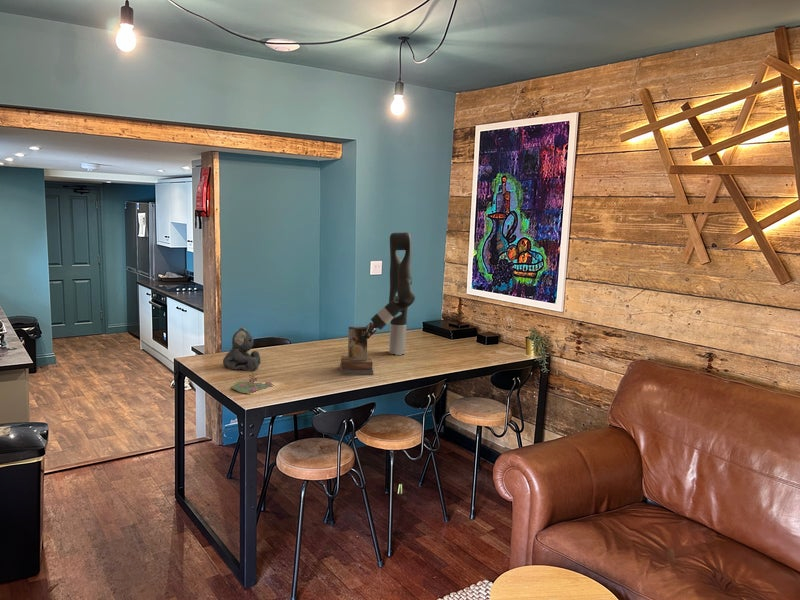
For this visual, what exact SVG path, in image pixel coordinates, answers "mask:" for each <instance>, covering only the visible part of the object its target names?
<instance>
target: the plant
mask: <svg viewBox="0 0 800 600" xmlns="http://www.w3.org/2000/svg"><path fill="white" fill-rule="evenodd" d="M250 372H251V371H250ZM248 375H249V377H250V378H249V379H248V380H249V381H239V382H236V383H235V384H232V386H230V388H231V389H232V390H233V391H236V392H239V393H241V394H244V393H254V392H256V391H259V390H262V389H266V388H268V387H273V386H274V385H273V384H272V383H271V382H272V381H265V382H266V383H265V384H262V383H254V382H255V381H258V379H257V378H258V377H256V376H257V374H255V373H254V370H252V372H251V373H248ZM272 385H273V386H272Z"/></svg>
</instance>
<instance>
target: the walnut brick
mask: <svg viewBox="0 0 800 600" xmlns="http://www.w3.org/2000/svg"><path fill="white" fill-rule="evenodd" d="M340 363H341V367H342V370H372V368H373V366H374V365H373V364H374V363H373V360H372V357H371V355H370V356H368V355H367V360H349V359H348V355H340Z"/></svg>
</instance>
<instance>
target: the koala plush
mask: <svg viewBox="0 0 800 600" xmlns="http://www.w3.org/2000/svg"><path fill="white" fill-rule="evenodd" d="M256 344H257V343H256V340H255V339H254V338H253V336H252V335H251V334H250V332H249V331H248V330H247V329H246V328H245V327H242V326H241V327H240V328H239V329H238V330H237V331H236V332H235V333H234V334H233V335H232V339H231V345H232V347H231V349H230V350H229V351H228V352H227V353H226V354H225V356H224V357H223V359H222V363H223V366H224V367H225V368H228V369H230V370H233V369H235V370H234V371H237V369H238V370H240V369H243V370H242V371H245V370H246V371H247V370H253V371H256V370H258V369H259V365H260V364H261V360H262V359H261V356H260V353H259V351H258V350H253V351H251V353H249V351H250V350H251V349H252V348H254V346H256Z"/></svg>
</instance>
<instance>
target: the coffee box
mask: <svg viewBox="0 0 800 600" xmlns="http://www.w3.org/2000/svg"><path fill="white" fill-rule="evenodd" d="M366 330H367V328H366V326H348V334H347V335H348V337H347V338H348V340H347V341H348V344H347V356H348V359H349V360H367V356H368V339H365V340H364V341H363V342H362V343H361V344H360V343H359V342H358V340H359V339H360V338H361V337H362V336H363V335H364V334H365V331H366Z"/></svg>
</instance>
